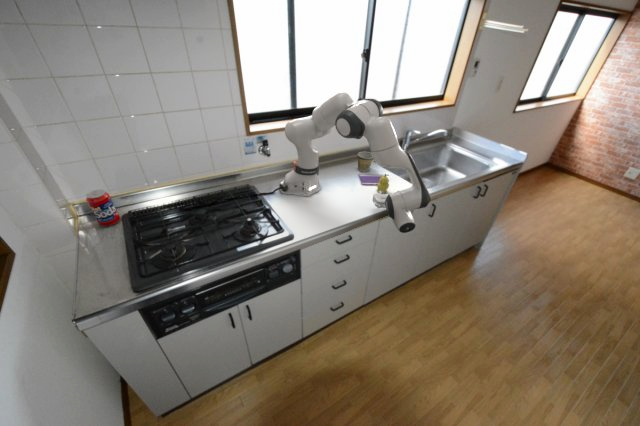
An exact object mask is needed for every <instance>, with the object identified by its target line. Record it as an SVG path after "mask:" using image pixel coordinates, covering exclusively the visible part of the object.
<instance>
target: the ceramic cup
mask: <svg viewBox="0 0 640 426" xmlns="http://www.w3.org/2000/svg"><path fill="white" fill-rule="evenodd" d="M373 161H374V159H373V157H372V154H371V151H360V152H357V170H358V171H359V172H362V173H364V172H368V171H370V169H371V165H372V163H373Z"/></svg>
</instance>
